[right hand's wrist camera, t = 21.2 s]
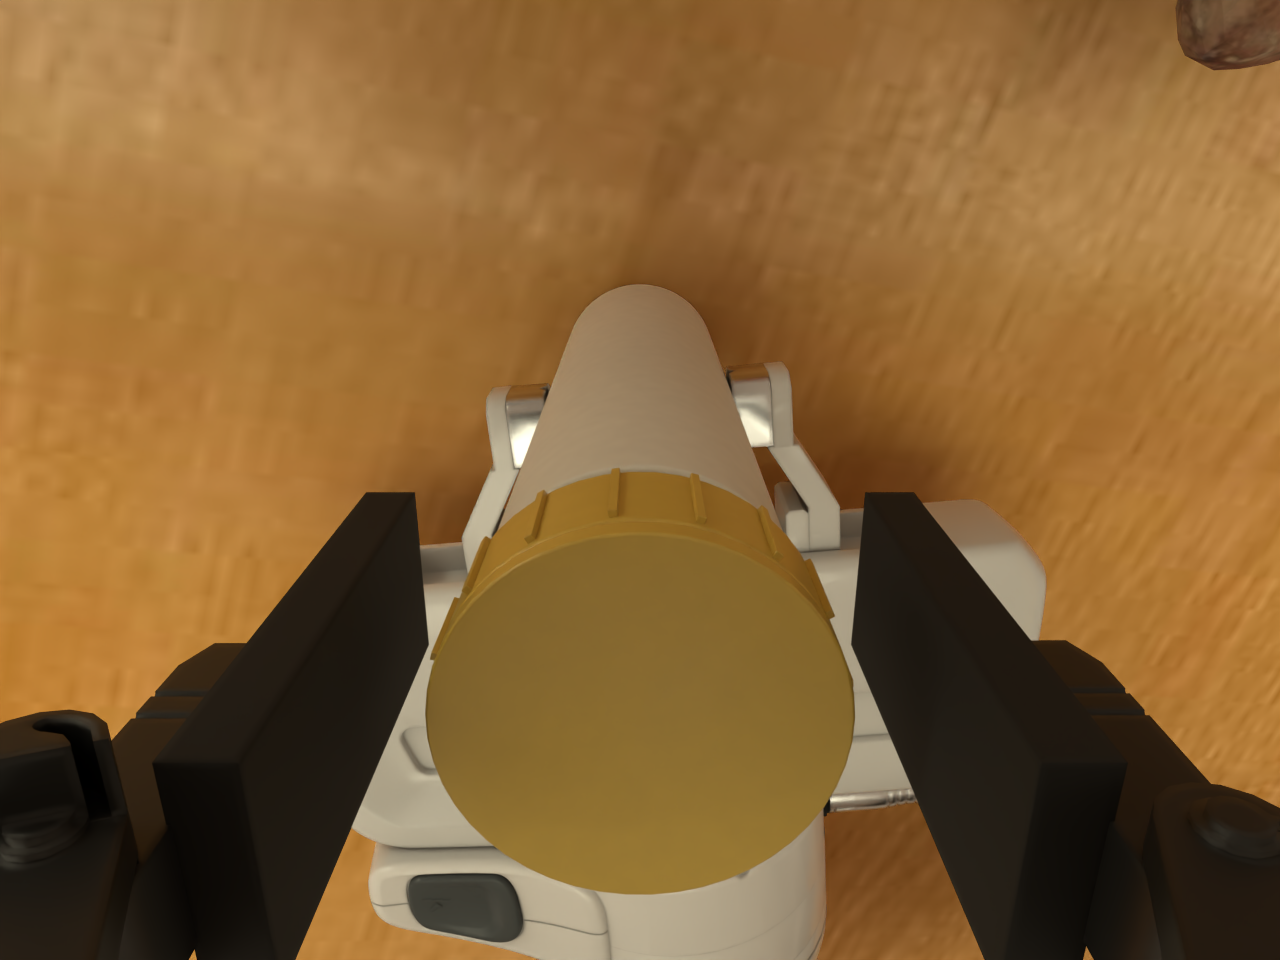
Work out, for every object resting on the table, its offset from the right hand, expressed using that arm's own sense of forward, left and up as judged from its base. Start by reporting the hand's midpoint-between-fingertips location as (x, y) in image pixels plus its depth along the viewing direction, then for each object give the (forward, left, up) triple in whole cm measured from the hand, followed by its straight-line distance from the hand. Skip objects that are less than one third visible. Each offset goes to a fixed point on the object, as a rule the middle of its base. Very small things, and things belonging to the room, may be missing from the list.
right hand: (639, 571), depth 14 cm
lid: (0, 0, +4) cm, 4 cm away
